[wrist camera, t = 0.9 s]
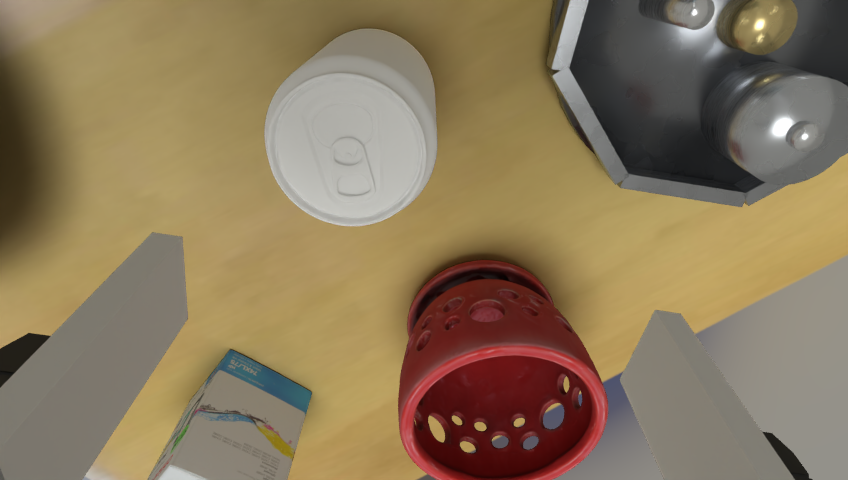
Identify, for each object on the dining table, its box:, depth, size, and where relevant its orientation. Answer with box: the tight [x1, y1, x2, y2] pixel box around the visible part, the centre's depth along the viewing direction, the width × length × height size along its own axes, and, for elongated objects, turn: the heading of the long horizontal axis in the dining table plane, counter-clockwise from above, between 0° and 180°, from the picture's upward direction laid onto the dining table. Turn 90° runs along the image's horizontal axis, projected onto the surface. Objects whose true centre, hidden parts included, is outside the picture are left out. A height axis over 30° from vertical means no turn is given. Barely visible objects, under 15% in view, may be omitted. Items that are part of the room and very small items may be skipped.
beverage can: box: [264, 29, 437, 226], centre depth 28 cm, size 8×8×12 cm
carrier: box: [546, 0, 848, 207], centre depth 28 cm, size 22×22×7 cm
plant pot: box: [398, 260, 608, 480], centre depth 36 cm, size 13×13×12 cm
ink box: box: [147, 350, 312, 480], centre depth 41 cm, size 9×8×12 cm
